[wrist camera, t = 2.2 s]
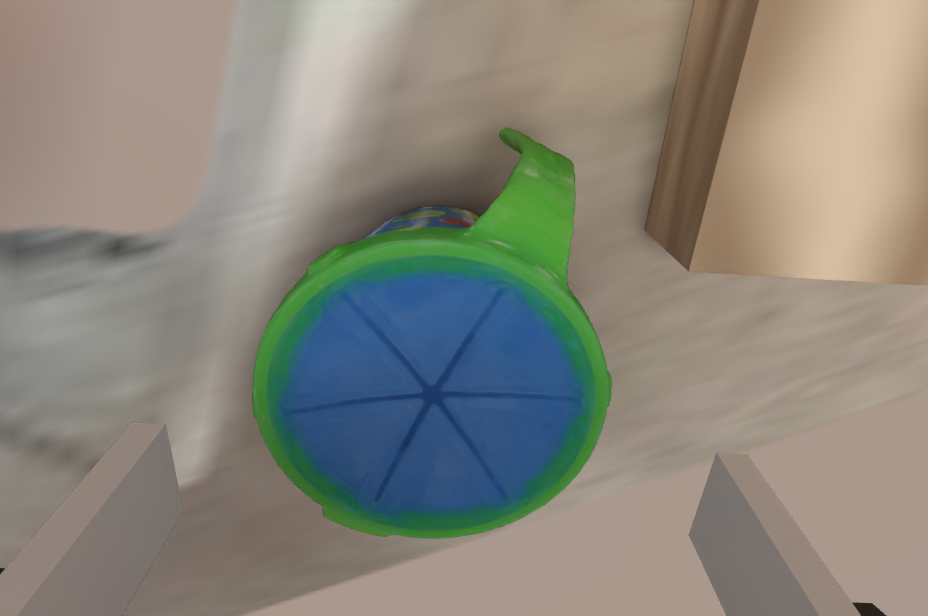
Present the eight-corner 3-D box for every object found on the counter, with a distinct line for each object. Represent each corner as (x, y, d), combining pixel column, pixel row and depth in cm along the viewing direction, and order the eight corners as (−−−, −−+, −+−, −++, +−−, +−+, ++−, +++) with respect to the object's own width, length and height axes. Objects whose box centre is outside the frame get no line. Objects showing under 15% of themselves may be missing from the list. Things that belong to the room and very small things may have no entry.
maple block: (644, 230, 24) (688, 271, 20) (731, -170, 19) (822, -240, 14) (944, 248, 25) (1053, 292, 21) (1121, -131, 19) (1327, -187, 15)
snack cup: (434, 55, 21) (421, 60, 12) (637, 204, 24) (753, 301, 15) (259, 349, 27) (158, 507, 17) (442, 444, 29) (438, 624, 20)
